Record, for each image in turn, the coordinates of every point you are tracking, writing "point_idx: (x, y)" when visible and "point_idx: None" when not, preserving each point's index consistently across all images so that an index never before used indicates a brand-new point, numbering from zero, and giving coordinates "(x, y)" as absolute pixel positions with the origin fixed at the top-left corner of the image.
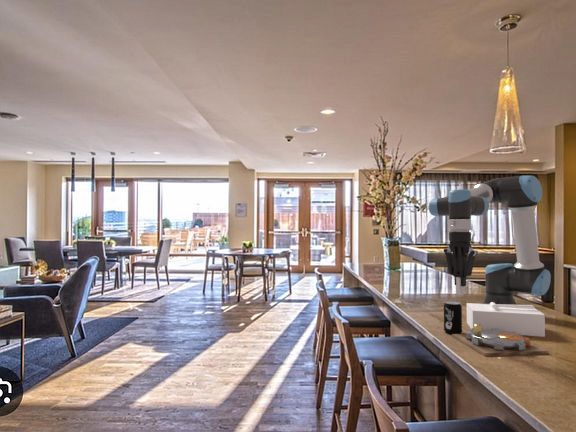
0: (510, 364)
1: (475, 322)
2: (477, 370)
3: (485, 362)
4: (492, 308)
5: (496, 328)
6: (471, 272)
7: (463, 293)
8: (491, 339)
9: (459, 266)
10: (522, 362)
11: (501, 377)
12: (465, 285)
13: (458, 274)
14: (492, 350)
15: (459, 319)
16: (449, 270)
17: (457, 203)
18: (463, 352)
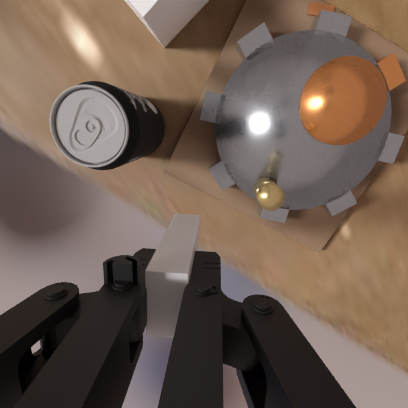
0: (384, 251)
1: (163, 29)
2: (346, 337)
3: (336, 284)
4: None
5: (256, 29)
6: (296, 333)
7: (199, 226)
8: (310, 187)
9: (100, 393)
10: (401, 215)
11: (396, 333)
12: (218, 260)
13: (138, 321)
14: (323, 217)
15: (153, 132)
16: (29, 376)
17: None
18: (267, 265)
